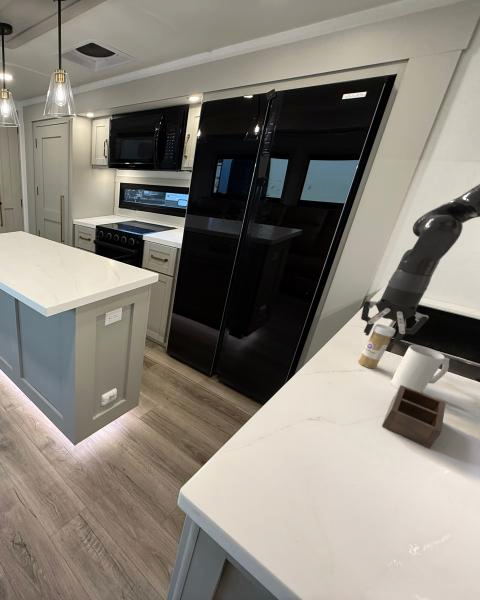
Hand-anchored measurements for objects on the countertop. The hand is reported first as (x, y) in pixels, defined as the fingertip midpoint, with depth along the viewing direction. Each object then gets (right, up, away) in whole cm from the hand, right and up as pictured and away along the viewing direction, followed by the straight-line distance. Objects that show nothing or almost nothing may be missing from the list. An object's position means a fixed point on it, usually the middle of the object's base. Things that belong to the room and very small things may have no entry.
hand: (380, 338), depth 93 cm
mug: (+3, -14, -6) cm, 15 cm away
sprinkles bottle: (0, -9, +4) cm, 10 cm away
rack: (-11, -18, -18) cm, 28 cm away
